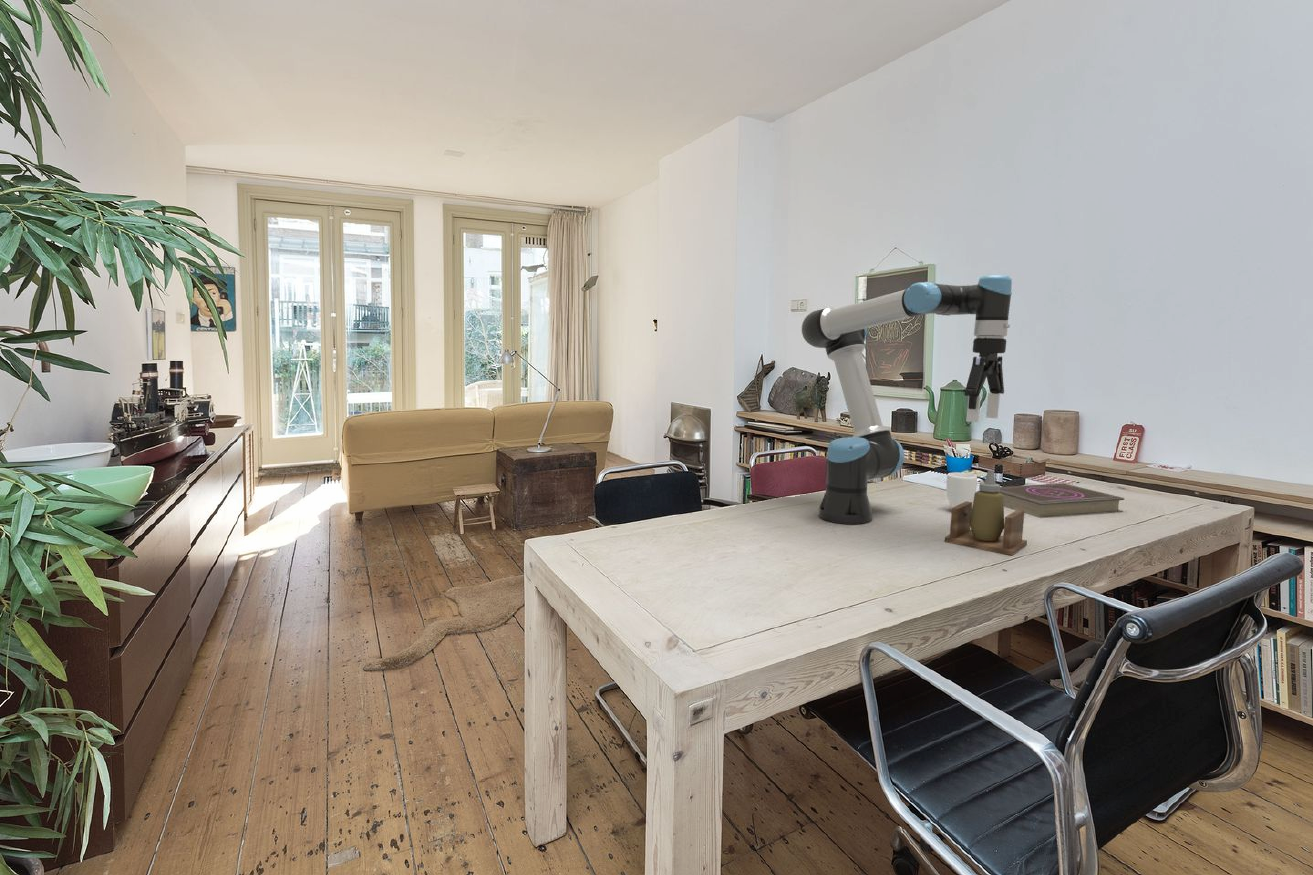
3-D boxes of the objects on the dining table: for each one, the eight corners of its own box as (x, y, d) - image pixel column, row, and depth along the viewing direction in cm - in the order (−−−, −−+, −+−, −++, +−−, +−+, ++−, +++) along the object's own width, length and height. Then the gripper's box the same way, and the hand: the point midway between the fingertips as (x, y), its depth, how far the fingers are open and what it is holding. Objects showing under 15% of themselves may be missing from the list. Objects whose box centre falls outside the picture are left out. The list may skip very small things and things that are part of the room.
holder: (944, 541, 166) (946, 507, 165) (961, 532, 174) (963, 500, 173) (1011, 555, 155) (1014, 519, 153) (1026, 545, 163) (1029, 510, 162)
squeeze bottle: (1007, 544, 160) (1013, 473, 157) (973, 542, 161) (978, 472, 159) (997, 535, 167) (1002, 467, 165) (964, 533, 169) (969, 466, 166)
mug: (957, 515, 192) (959, 478, 190) (939, 508, 200) (941, 472, 198) (991, 513, 195) (993, 476, 193) (971, 506, 203) (974, 471, 201)
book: (1040, 519, 189) (1041, 503, 189) (985, 501, 211) (986, 487, 210) (1122, 513, 197) (1124, 497, 196) (1061, 497, 218) (1062, 482, 217)
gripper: (987, 337, 152) (979, 425, 155) (1022, 338, 169) (1014, 417, 172) (955, 336, 157) (947, 422, 160) (992, 337, 174) (984, 414, 177)
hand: (982, 419), depth 166 cm, fingers open, 13 cm apart
